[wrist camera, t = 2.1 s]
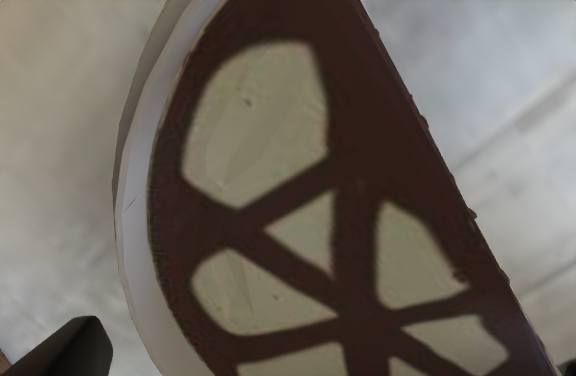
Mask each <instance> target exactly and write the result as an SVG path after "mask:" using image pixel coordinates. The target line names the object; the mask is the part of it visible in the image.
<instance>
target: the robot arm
mask: <svg viewBox="0 0 576 376" xmlns="http://www.w3.org/2000/svg"><path fill="white" fill-rule="evenodd" d="M112 357H113V347H112V344H111V341H110V339H109V337H108V335H107V333H106V331H105V329H104V327H103V325H102V323H101V321H100V320H99V318H97V317H96V316H82V317H76V318H73V319H72V320H70V321H69V322H68V323H66V324H65V325H64V326H62V327H61V328H60V329H59V330H57V331H56V332H55V333H53V334H52V335H51V336H50V337H48V338H47V339H46V340H44V341H43V342H42V343H41V344H39V345H38V346H37V347H35V348H34V349H33V350H32V351H30V352H29V353H28V354H26V355H25V356H24V357H23V358H21V359H20V360H19V361H17V362H16V363H15V364H13V365H12V366H11V367H10V368H8V369H7V370H6V371H4V372H3V373H2V374H1V375H0V376H108V374H109V370H110V366H111V362H112ZM565 376H576V362H575V363H573V364H571V365H569V366H568V367H567V369H566V372H565Z"/></svg>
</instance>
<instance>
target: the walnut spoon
mask: <svg viewBox="0 0 576 376" xmlns="http://www.w3.org/2000/svg"><path fill="white" fill-rule="evenodd" d="M10 367H11V364H10V363H9V361H8V360H7V358H6V357H5V355H4V354H3V353H2V351H1V350H0V375H1V374H2V373H3V372H4V371H6V370H7V369H8V368H10Z"/></svg>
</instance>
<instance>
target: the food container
mask: <svg viewBox="0 0 576 376" xmlns="http://www.w3.org/2000/svg"><path fill="white" fill-rule="evenodd" d="M428 127H429V126H428V124H427V121H426V119H425V118H424V117H423V116H422V115H421V114H420V113H419V111H418V109H417V107H416V105H415V103H414V101H413V99H412V95H411V94H409V92H408V90H407V88H406V86H405V84H404V82H403V80H402V79H401V77H400V75H399V73H398V71H397V69H396V67H395V65H394V63H393V61H392V60H391V58H390V56H389V54H388V52H387V50H386V48H385V46H384V44H383V43H382V41H381V39H380V37H379V32H378V31H377V29H375V27H374V26H373V24H372V22H371V20H370V18H369V16H368V14H367V12H366V11H365V9H364V7H363V5H362V3H361V1H360V0H167V1H166V3H165V5H164V7H163V9H162V11H161V13H160V15H159V17H158V19H157V21H156V23H155V25H154V27H153V29H152V31H151V34H150V36H149V38H148V41H147V43H146V45H145V48H144V50H143V52H142V55H141V57H140V60H139V63H138V66H137V69H136V73H135V76H134V79H133V82H132V85H131V88H130V92H129V95H128V98H127V101H126V104H125V107H124V111H123V114H122V117H121V120H120V124H119V132H118V140H117V148H116V156H115V164H114V172H113V180H112V192H113V208H114V225H115V239H116V243H117V257H118V270H119V273H120V277H121V281H122V285H123V289H124V292H125V296H126V300H127V304H128V308H129V311H130V315H131V318H132V320H133V322H134V324H135V326H136V329H137V331H138V333H139V335H140V337H141V339H142V341H143V343H144V345H145V348H146V350H147V352H148V354H149V356H150V358H151V360H152V361H153V363H154V364H155V365H156V367H157V368H158V370H159V371H160V373H161V374H162V375H163V376H562V375H561V373H560V371H559V370H558V368H557V366H556V365H555V363H554V361H553V359H552V358H551V356H550V354H549V353H548V351H547V349H546V347H545V346H544V344H543V342H542V341H541V339H540V337H539V335H538V334H537V332H536V330H535V329H534V327H533V325H532V324H531V322H530V320H529V318H528V317H527V315H526V313H525V312H524V310H523V308H522V306H521V305H520V303H519V301H518V300H517V298H516V296H515V294H514V293H513V291H512V289H511V287H510V286H509V284H510V279H509V278H508V277H507V275H506V274H505V273H504V271H503V270H502V269H501V268H500V267H499V265H498V263H497V261H496V259H495V257H494V255H493V254H492V252H491V250H490V248H489V246H488V244H487V242H486V240H485V239H484V237H483V235H482V233H481V231H480V229H479V227H478V226H477V224H476V222H475V220H474V219H475V218H477V215H476V213H475V212H474V211H473V210H471V209H470V208H468V207H467V205H466V203H465V201H464V199H463V197H462V195H461V193H460V191H459V189H458V187H457V185H456V182H455V179H454V176H453V175H452V174H451V173H450V171H449V169H448V167H447V166H446V164H445V162H444V160H443V158H442V156H441V154H440V152H439V150H438V148H437V146H436V144H435V142H434V140H433V138H432V136H431V134H430V132H429V130H428Z"/></svg>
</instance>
